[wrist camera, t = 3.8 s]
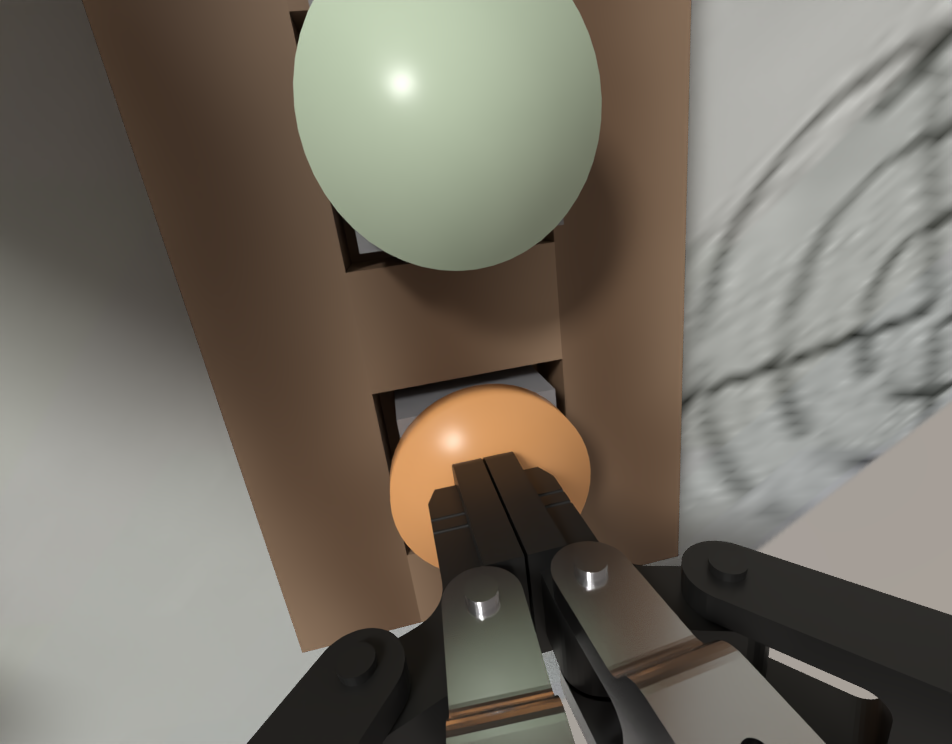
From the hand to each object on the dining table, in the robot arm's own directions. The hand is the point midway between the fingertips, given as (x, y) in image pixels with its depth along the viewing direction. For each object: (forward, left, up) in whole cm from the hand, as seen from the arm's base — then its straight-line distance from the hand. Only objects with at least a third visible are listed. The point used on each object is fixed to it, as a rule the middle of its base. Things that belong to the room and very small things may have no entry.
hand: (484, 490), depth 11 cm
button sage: (0, -8, -3) cm, 8 cm away
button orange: (0, 0, -4) cm, 4 cm away
